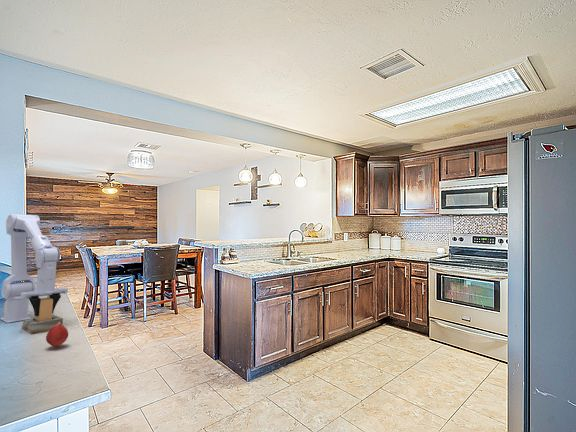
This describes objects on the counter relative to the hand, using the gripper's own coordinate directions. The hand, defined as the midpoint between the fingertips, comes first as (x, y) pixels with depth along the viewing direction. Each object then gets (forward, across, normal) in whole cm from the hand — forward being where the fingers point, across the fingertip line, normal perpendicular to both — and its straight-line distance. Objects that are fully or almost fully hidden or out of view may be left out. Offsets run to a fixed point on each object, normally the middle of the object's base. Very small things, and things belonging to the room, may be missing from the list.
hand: (43, 314), depth 122 cm
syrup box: (+5, +14, +50) cm, 52 cm away
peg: (+2, 0, 0) cm, 2 cm away
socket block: (+5, 0, 0) cm, 5 cm away
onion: (+5, -4, -26) cm, 27 cm away
